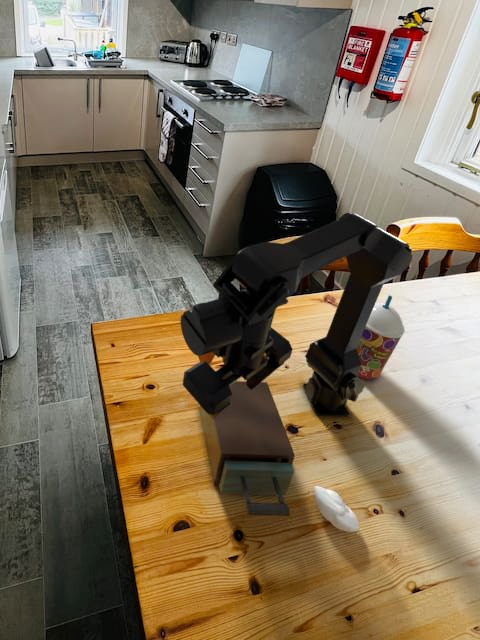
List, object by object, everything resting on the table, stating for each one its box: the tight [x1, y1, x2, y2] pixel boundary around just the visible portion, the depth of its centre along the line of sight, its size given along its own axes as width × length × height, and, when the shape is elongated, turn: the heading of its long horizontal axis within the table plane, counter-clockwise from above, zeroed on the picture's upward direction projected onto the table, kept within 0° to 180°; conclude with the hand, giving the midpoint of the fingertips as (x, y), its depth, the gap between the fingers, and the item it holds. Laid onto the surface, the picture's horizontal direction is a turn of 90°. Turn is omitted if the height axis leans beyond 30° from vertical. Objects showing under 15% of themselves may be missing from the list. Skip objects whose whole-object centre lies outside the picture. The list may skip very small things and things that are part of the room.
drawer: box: [218, 456, 295, 517], centre depth 64 cm, size 16×10×6 cm, turn 0°
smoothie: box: [357, 294, 406, 380], centre depth 83 cm, size 8×8×20 cm
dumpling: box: [313, 485, 360, 535], centre depth 60 cm, size 7×5×4 cm
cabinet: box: [198, 380, 296, 486], centre depth 68 cm, size 13×12×8 cm
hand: (230, 401), depth 64 cm, fingers open, 9 cm apart
